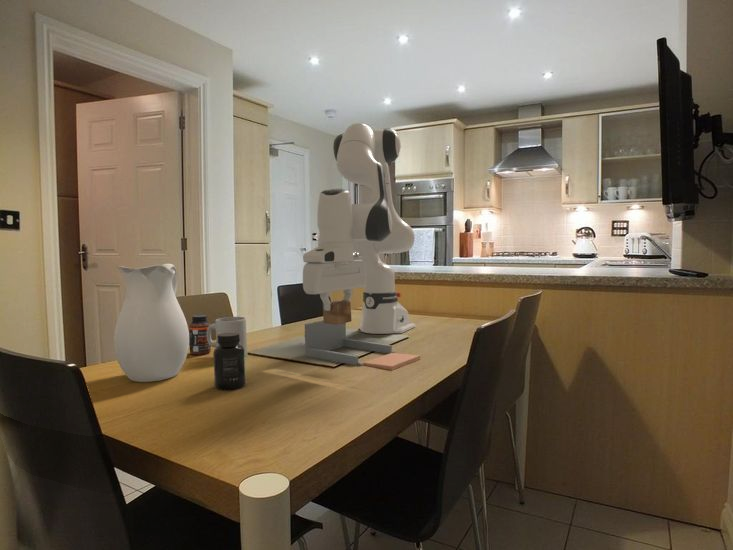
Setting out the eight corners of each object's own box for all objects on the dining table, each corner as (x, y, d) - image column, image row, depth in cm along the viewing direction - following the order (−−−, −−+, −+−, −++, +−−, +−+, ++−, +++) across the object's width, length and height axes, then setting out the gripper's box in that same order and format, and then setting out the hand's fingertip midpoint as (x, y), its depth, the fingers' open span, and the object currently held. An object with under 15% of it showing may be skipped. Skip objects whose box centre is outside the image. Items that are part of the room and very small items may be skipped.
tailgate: (363, 362, 121) (392, 366, 115) (392, 352, 131) (420, 355, 126) (363, 366, 121) (392, 370, 115) (392, 356, 131) (420, 359, 126)
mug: (252, 353, 140) (251, 316, 139) (238, 361, 132) (236, 321, 131) (215, 352, 143) (214, 316, 142) (199, 359, 134) (198, 320, 134)
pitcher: (173, 385, 109) (167, 265, 107) (101, 386, 110) (94, 266, 108) (209, 360, 133) (205, 260, 131) (150, 360, 134) (145, 261, 132)
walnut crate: (337, 319, 124) (336, 300, 124) (351, 321, 121) (350, 301, 120) (323, 323, 120) (322, 303, 120) (338, 325, 117) (337, 305, 117)
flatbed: (305, 359, 132) (304, 324, 131) (343, 349, 144) (342, 316, 144) (360, 370, 120) (359, 331, 119) (396, 357, 132) (395, 322, 132)
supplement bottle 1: (198, 356, 138) (197, 317, 137) (185, 354, 141) (183, 316, 140) (215, 352, 143) (213, 314, 142) (202, 350, 146) (200, 313, 145)
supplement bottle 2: (251, 383, 111) (250, 332, 110) (234, 392, 104) (232, 338, 103) (227, 380, 113) (225, 330, 112) (208, 389, 106) (206, 336, 106)
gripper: (353, 252, 129) (354, 302, 130) (297, 255, 113) (299, 312, 114) (371, 252, 125) (372, 304, 126) (316, 255, 109) (318, 315, 110)
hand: (337, 308), depth 120 cm, fingers closed on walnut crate, 5 cm apart
